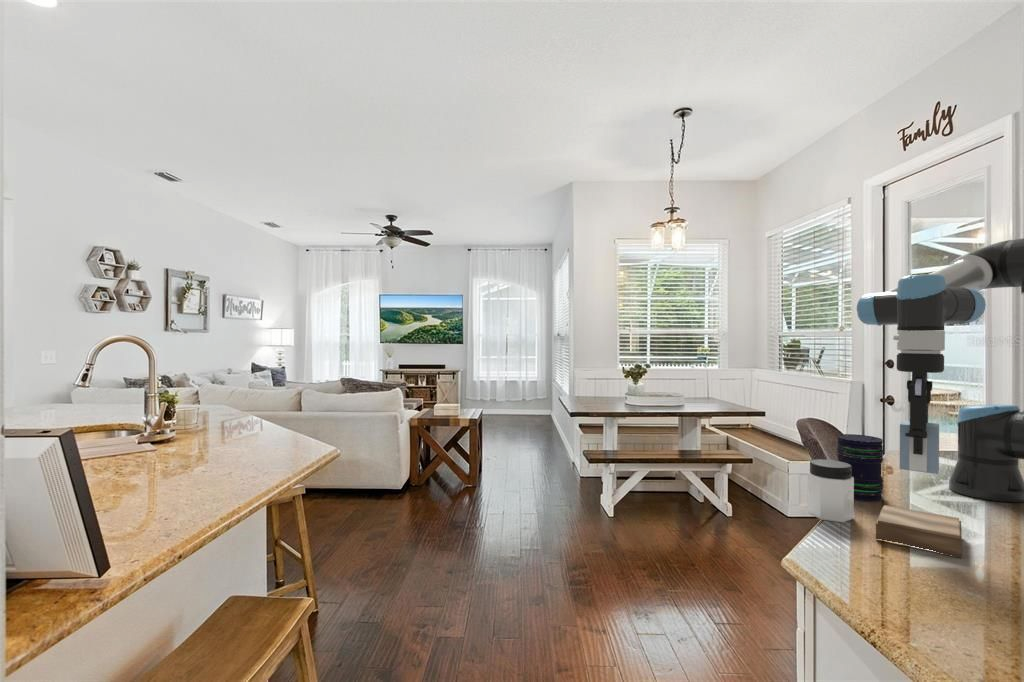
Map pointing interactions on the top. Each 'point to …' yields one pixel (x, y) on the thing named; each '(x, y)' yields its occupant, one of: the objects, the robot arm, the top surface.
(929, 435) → the slate block
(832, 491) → the jar
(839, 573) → the top surface
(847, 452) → the dark blue upright cylinder
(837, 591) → the top surface
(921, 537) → the base block
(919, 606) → the top surface
